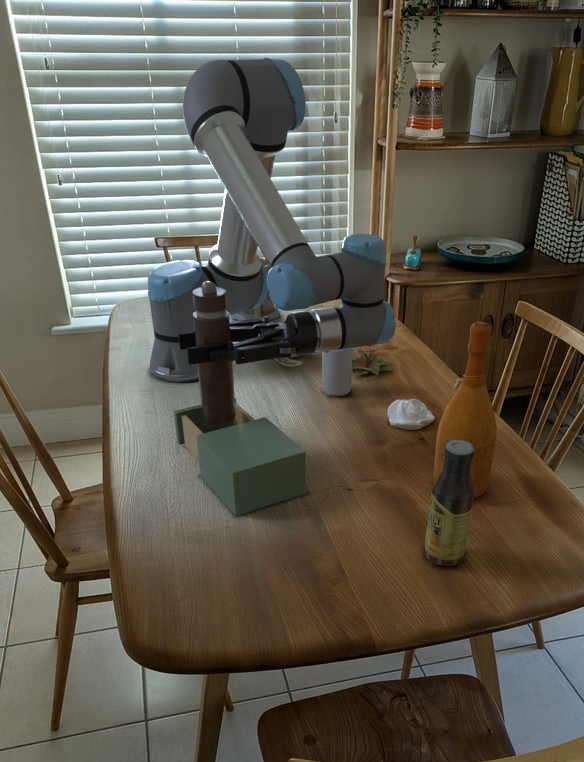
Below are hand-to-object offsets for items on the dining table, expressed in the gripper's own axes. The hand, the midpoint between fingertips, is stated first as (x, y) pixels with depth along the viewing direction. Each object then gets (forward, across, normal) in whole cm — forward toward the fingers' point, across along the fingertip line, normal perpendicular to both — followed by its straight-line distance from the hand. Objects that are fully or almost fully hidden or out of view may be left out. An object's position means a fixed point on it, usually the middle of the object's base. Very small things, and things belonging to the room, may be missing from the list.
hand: (183, 348), depth 123 cm
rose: (-45, 0, -22) cm, 50 cm away
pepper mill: (-5, 0, -14) cm, 15 cm away
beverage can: (-36, +18, -22) cm, 45 cm away
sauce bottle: (-29, -43, -22) cm, 56 cm away
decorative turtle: (-32, +40, -22) cm, 56 cm away
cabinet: (-7, -12, -22) cm, 26 cm away
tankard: (-32, +67, -22) cm, 77 cm away
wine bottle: (-41, -26, -22) cm, 53 cm away
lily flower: (-47, +27, -22) cm, 58 cm away
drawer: (-5, +1, -21) cm, 21 cm away
